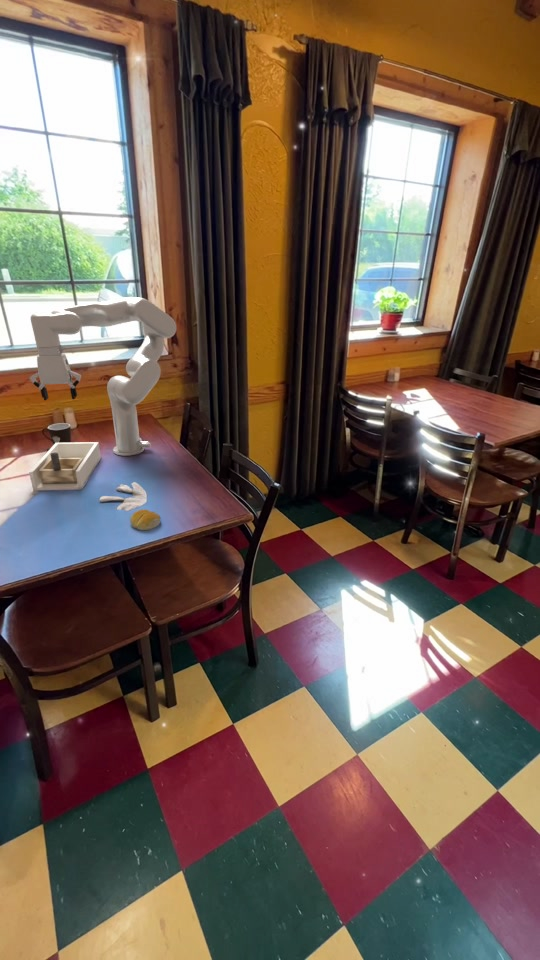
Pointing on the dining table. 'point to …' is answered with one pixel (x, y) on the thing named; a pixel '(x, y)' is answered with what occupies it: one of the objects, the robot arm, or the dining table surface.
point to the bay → (69, 450)
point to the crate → (59, 469)
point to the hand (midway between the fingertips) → (60, 398)
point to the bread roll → (145, 520)
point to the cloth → (128, 502)
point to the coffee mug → (59, 433)
